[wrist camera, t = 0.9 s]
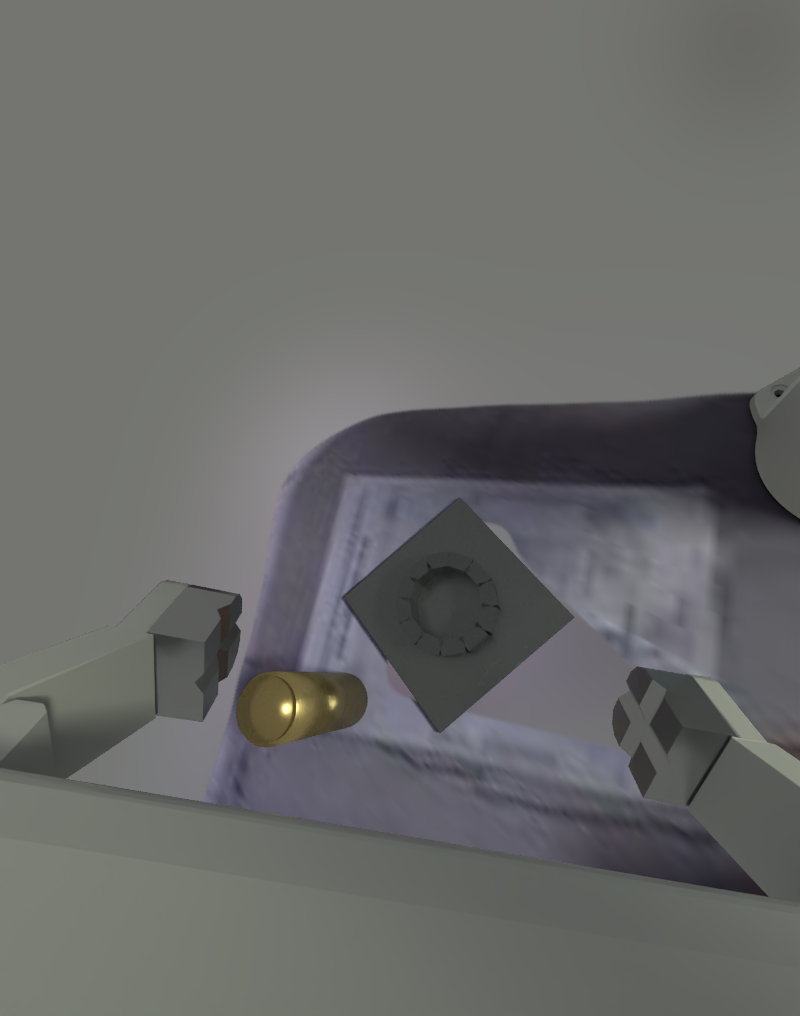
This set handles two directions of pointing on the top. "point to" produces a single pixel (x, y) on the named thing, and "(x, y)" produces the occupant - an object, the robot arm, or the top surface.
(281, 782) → the top surface
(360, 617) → the square socket base
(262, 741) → the cylinder
